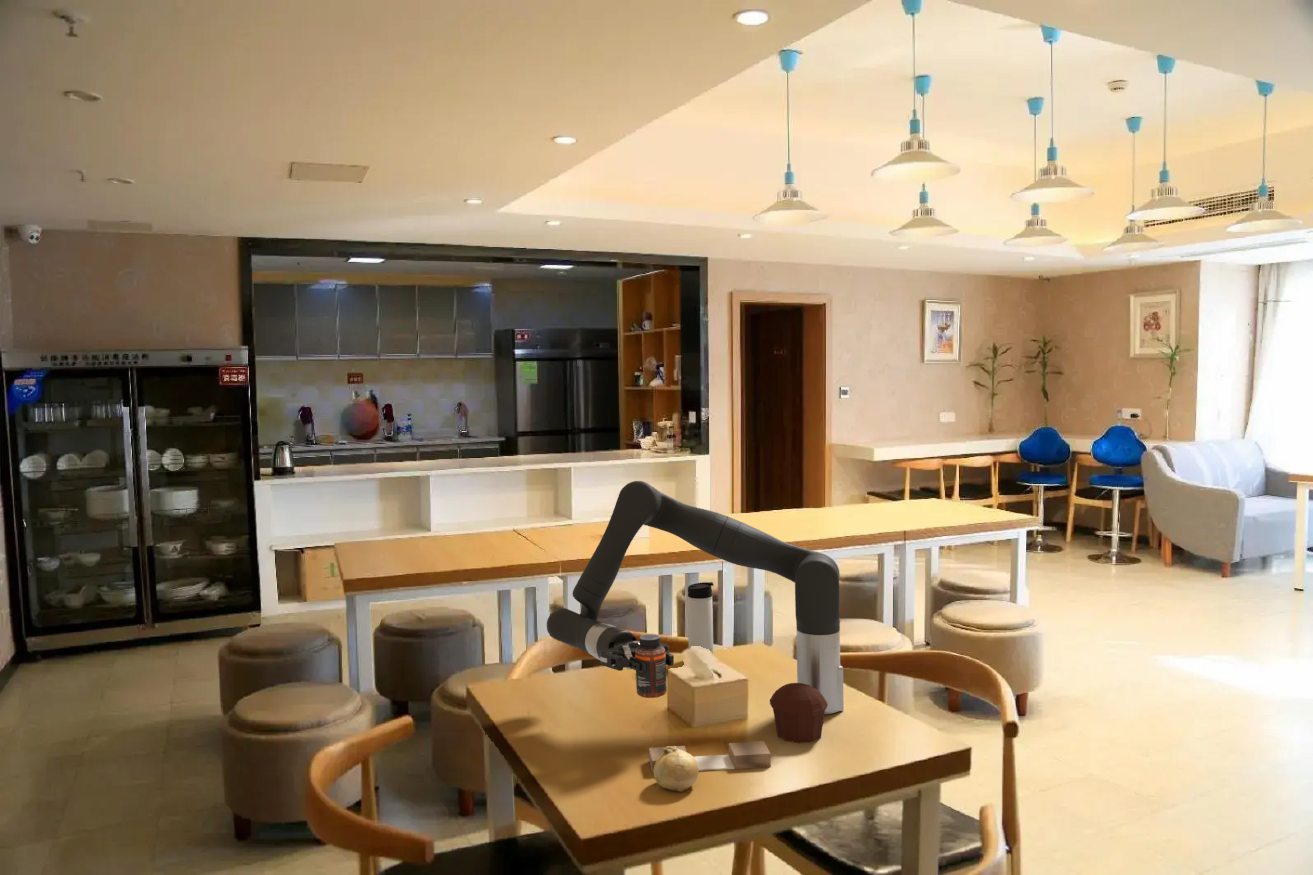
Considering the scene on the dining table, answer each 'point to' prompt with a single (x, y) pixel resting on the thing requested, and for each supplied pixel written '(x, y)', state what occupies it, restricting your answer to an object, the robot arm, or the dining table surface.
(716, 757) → the rail
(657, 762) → the onion
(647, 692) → the supplement bottle
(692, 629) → the travel mug
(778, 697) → the muffin
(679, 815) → the dining table surface
